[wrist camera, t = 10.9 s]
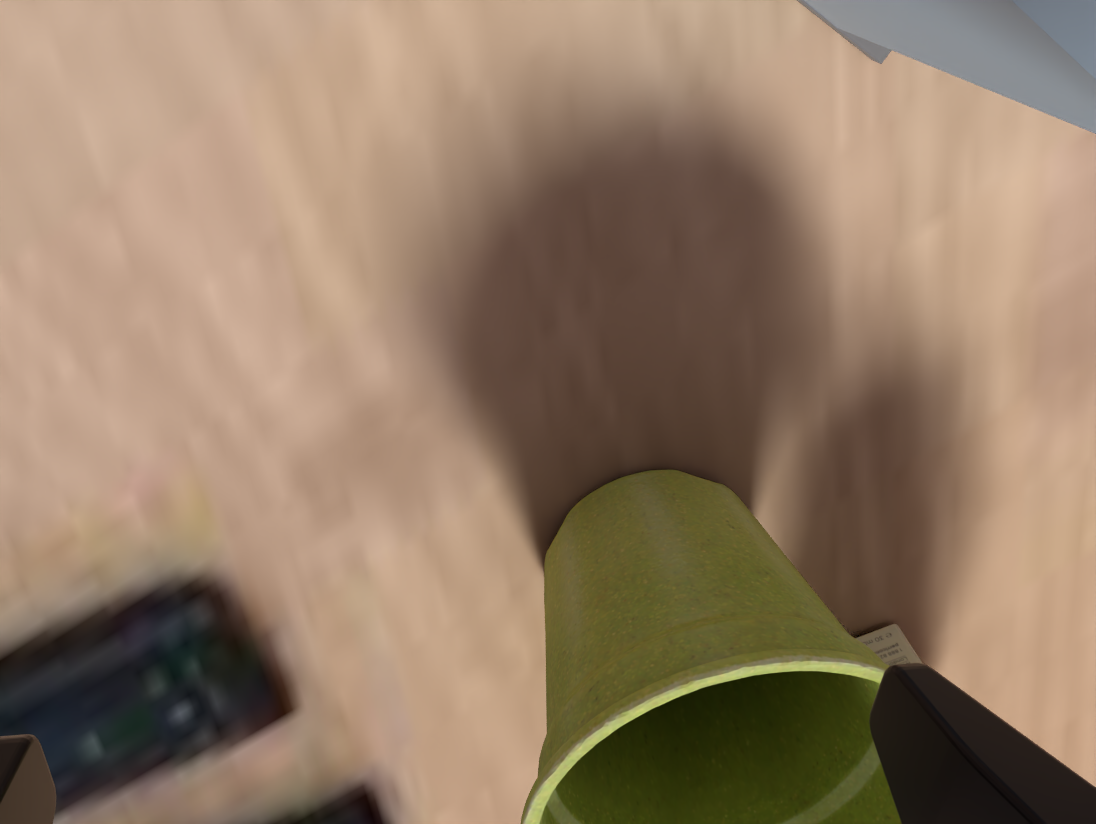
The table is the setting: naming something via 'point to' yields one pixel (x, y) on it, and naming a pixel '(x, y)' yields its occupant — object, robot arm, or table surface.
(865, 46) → the pad
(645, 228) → the table surface
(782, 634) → the plant pot
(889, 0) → the grey rectangular block
